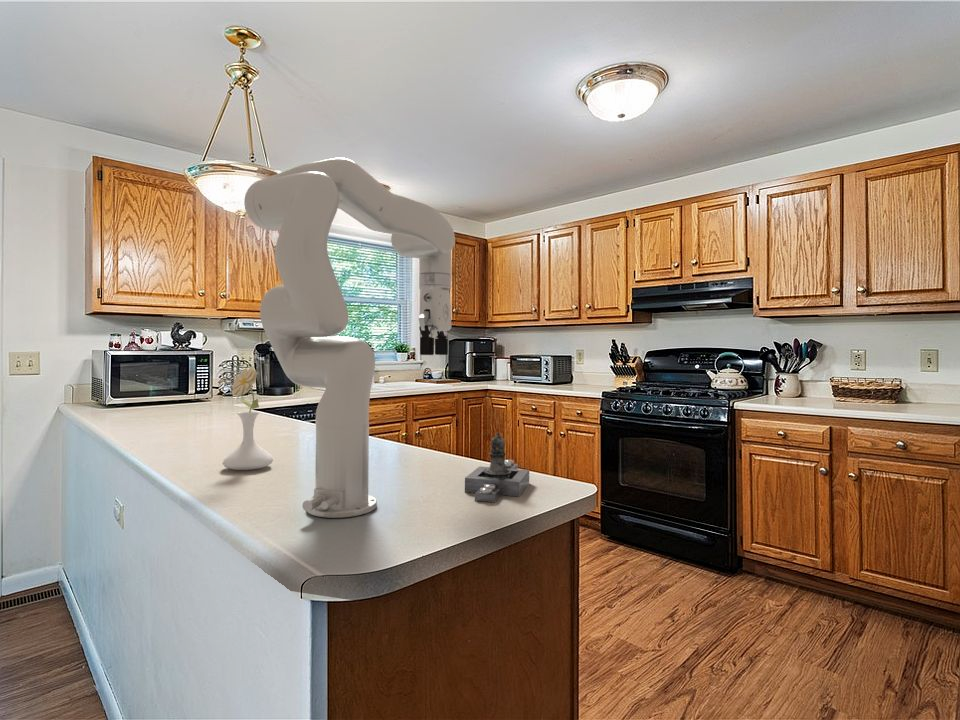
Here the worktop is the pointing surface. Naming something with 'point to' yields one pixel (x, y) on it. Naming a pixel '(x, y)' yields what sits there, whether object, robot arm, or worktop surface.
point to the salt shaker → (497, 460)
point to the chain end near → (493, 491)
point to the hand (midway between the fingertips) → (434, 354)
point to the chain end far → (515, 483)
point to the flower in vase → (247, 429)
